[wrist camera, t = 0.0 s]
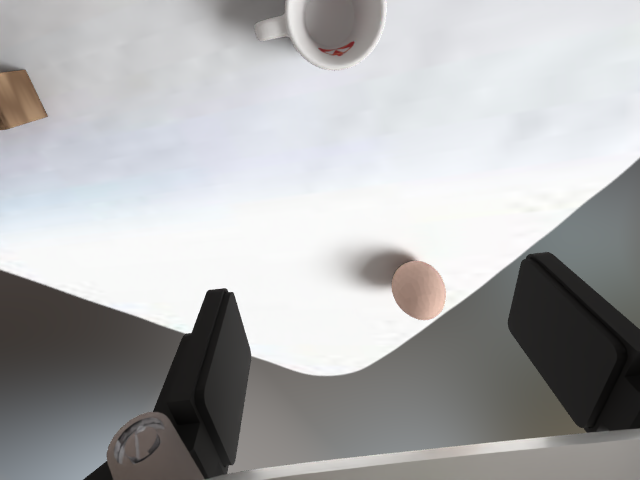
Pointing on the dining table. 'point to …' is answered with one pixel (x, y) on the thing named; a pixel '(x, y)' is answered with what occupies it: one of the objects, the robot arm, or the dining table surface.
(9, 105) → the cardboard box
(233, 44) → the dining table surface
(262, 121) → the dining table surface
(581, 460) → the robot arm
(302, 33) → the cup
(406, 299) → the egg
